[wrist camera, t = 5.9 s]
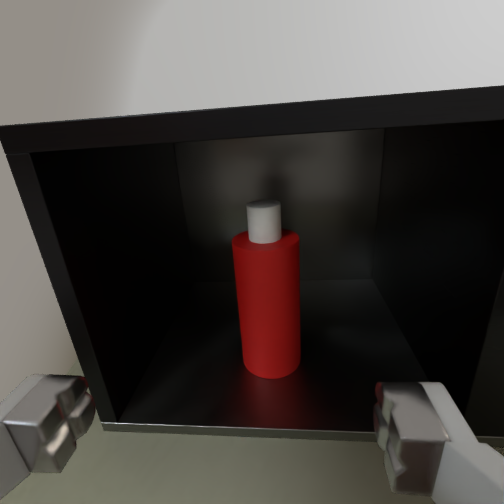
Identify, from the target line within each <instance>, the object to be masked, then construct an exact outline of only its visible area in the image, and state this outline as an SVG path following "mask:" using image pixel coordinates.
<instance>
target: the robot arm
mask: <svg viewBox="0 0 504 504" xmlns="http://www.w3.org/2000/svg"><path fill="white" fill-rule="evenodd" d="M88 387H89V385H88V383H87V380H86V378H85V377H82V376H72V375H52V374H49V375H44V374H33V375H30V376H28V377H26V378H25V379H24V380H23V381H22V382H21V383H20V384H19V385H18V386H17V387H16V388H15V389H14V390H13V391H12V392H11V393H10V394H9V395H8V396H7V397H6V398H5V399H4V400H3V401H2V402H1V403H0V500H1V499H2V498H3V497H4V496H5V495H7V494H8V493H9V492H10V491H11V490H13V489H14V488H15V487H16V486H17V485H18V484H20V483H21V482H22V481H23V480H24V479H25V478H27V477H28V476H29V475H30V472H35V473H61V472H62V470H63V469H64V467H65V466H66V464H67V462H68V461H69V459H70V458H71V456H72V455H73V453H74V451H75V450H76V440H77V439H79V438H80V437H81V436H83V435H84V434H86V433H87V431H88V429H89V428H90V426H91V424H92V422H93V419H94V415H95V402H94V399H93V397H92V396H91V395H90V394H88V393H87V392H86V391H87V389H88ZM375 394H376V397H377V400H378V402H377V403H376V404H375V405H374V410H373V421H374V429H375V435H376V439H377V442H378V446H379V447H380V448H381V449H382V450H383V451H384V452H385V457H384V467H385V470H386V473H387V477H388V480H389V483H390V487H391V490H392V493H397V494H409V495H420V496H431V497H432V498H431V499H432V500H433V501H434V502H435V503H436V504H504V456H503V455H501V454H500V453H499V452H497V451H496V450H495V449H493V448H492V447H491V446H489V445H488V444H487V443H479V442H478V440H477V439H476V437H475V435H474V434H473V432H472V430H471V429H470V427H469V425H468V424H467V422H466V421H465V419H464V417H463V416H462V414H461V412H460V411H459V409H458V407H457V406H456V404H455V403H454V401H453V399H452V398H451V396H450V394H449V393H448V391H447V390H446V388H445V386H444V385H443V384H442V383H440V382H377V385H376V390H375Z"/></svg>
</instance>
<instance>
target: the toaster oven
mask: <svg viewBox="0 0 504 504" xmlns="http://www.w3.org/2000/svg"><path fill="white" fill-rule="evenodd" d="M0 141H1V144H2V147H3V149H4V152H5V154H7V155H6V158H7V160H8V163H9V166H10V169H11V172H12V174H13V177H14V180H15V183H16V186H17V188H18V191H19V194H20V197H21V199H22V202H23V205H24V208H25V211H26V214H27V216H28V219H29V222H30V225H31V228H32V230H33V233H34V236H35V239H36V241H37V244H38V247H39V250H40V253H41V256H42V258H43V261H44V264H45V267H46V269H47V273H48V275H49V278H50V281H51V283H52V287H53V289H54V292H55V295H56V298H57V301H58V303H59V306H60V309H61V312H62V315H63V317H64V320H65V323H66V326H67V329H68V331H69V334H70V337H71V340H72V343H73V345H74V348H75V351H76V354H77V357H78V359H79V362H80V365H81V368H82V371H83V373H84V376H85V378H86V380H87V383H88V385H89V387H88V388H89V390H90V393H91V396H92V397H93V399H94V402H95V407H96V410H97V413H98V416H99V418H100V421H101V424H102V427H103V430H104V431H123V432H147V433H172V434H197V435H222V436H247V437H272V438H297V439H321V440H346V441H371V442H377V439H376V435H375V429H374V421H373V410H374V405H375V404H376V403H377V402H378V400H377V397H376V394H375V390H376V385H377V382H440V383H442V384H443V385H444V386H445V388H446V390H447V391H448V393H449V394H450V396H451V398H452V399H453V401H454V403H455V404H456V406H457V407H458V409H459V411H460V412H461V414H462V416H463V417H464V419H465V421H466V422H467V424H468V425H469V427H470V429H471V430H472V432H473V434H474V435H475V437H476V439H477V440H478V442H479V443H487V444H488V445H489V446H495V447H504V85H503V86H490V87H478V88H466V89H453V90H441V91H428V92H416V93H403V94H391V95H379V96H365V97H354V98H340V99H328V100H315V101H303V102H290V103H279V104H267V105H253V106H241V107H228V108H216V109H203V110H191V111H179V112H165V113H153V114H141V115H128V116H116V117H104V118H90V119H79V120H65V121H53V122H40V123H28V124H15V125H4V126H0ZM257 200H276V201H279V202H280V205H281V228H283V229H288V230H291V231H293V232H295V233H297V234H298V236H299V253H300V348H301V360H300V364H299V366H298V367H297V369H296V370H295V371H294V372H292V373H291V374H289V375H287V376H285V377H282V378H277V379H266V378H261V377H258V376H256V375H254V374H252V373H251V372H250V371H249V370H248V369H247V368H246V366H245V364H244V360H243V350H242V340H241V330H240V320H239V310H238V300H237V290H236V280H235V270H234V260H233V250H232V239H233V237H234V236H236V235H237V234H239V233H241V232H244V231H247V230H248V220H247V207H246V205H247V204H248V203H250V202H252V201H257Z"/></svg>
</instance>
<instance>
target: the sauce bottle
mask: <svg viewBox="0 0 504 504" xmlns="http://www.w3.org/2000/svg"><path fill="white" fill-rule="evenodd" d="M246 207H247V220H248V230H247V231H244V232H241V233H239V234H237V235H236V236H234V237H233V239H232V250H233V260H234V270H235V280H236V290H237V300H238V310H239V320H240V330H241V340H242V350H243V360H244V364H245V366H246V368H247V369H248V370H249V371H250V372H251V373H252V374H254V375H256V376H258V377H261V378H266V379H277V378H282V377H285V376H287V375H289V374H291V373H292V372H294V371H295V370H296V369H297V367H298V366H299V364H300V360H301V348H300V253H299V236H298V234H297V233H295V232H293V231H291V230H288V229H283V228H281V205H280V202H279V201H276V200H257V201H252V202H250V203H248V204H247V205H246Z"/></svg>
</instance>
